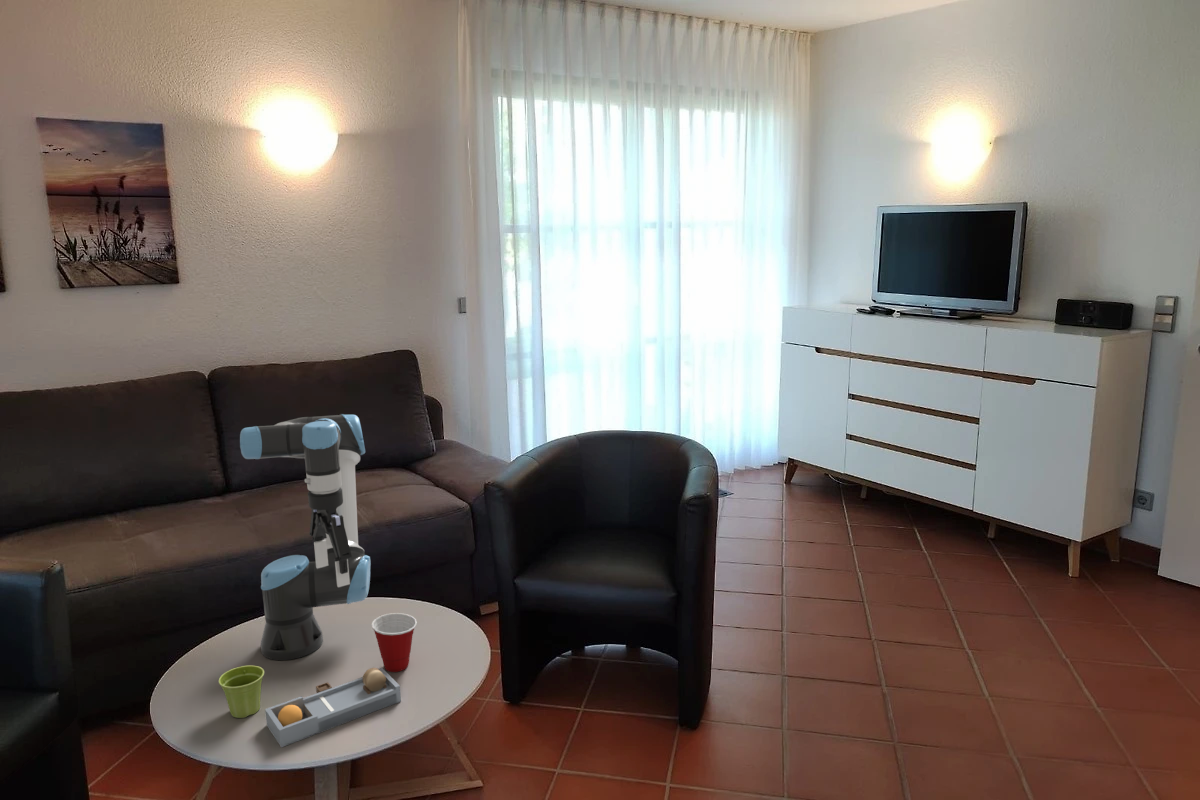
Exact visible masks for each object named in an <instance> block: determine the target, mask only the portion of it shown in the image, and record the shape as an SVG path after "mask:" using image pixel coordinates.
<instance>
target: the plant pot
mask: <svg viewBox="0 0 1200 800" xmlns="http://www.w3.org/2000/svg"><path fill="white" fill-rule="evenodd" d="M264 675H265V669H264V668H262V667H261V666H257V665H242V666H238V667H235V668H231V669H229V670H227V671H225V672H223V674H221V675H220V677H219V678H218V685H219V686H220V687H221V688H222V690H223V692H224V695H225V698H226V702H227V705H228V709H229V712H230V715H231V716H232V717H234V718H238V719H242V718H247V717H249V716H251V715H255V714H257V712H258V711H259V710H260V708H261V693H262V692H261V689H262V682H263V678H264Z"/></svg>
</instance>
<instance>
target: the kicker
mask: <svg viewBox="0 0 1200 800" xmlns="http://www.w3.org/2000/svg"><path fill="white" fill-rule="evenodd" d="M379 669H380V668H377V667H372V668H368V669H367V670H366V671H365V672H364V673H363V676H362V677H363V678H362V681H363V683H364V685H363V689H364V690H365V691H366V692H367V694H371V691H372V692H376V691H379V690H380V689H382V688H387V687H386V684H385V683H386V677H385V675H384V674H383V673H382V672H381V671H380V670H379Z"/></svg>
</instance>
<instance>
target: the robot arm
mask: <svg viewBox="0 0 1200 800" xmlns="http://www.w3.org/2000/svg"><path fill="white" fill-rule="evenodd" d="M239 448H240V453H241V456H242V457H243V458H244V459H245V460H254V459H255V460H260V459H261V460H262V459H270V458H272V459H273V458H292V459H293V458H295V459H304V462H305V463H304V464H305V473H306V476H305V477H306V478H304V483H306V485H307V487H306V488H307V490H308V492H307V498H308V499H307V500H308V507H309V508H310V509H311V513H310V514H311V515H310V525H309V533H308V534H309V536H310V537H312V541H313V545H314V546H313V547H314V558H315V561H310V560H309V558H308V557H307V556H306V555H302V554H301V555H300V554H292V555H287V556H284V557H281V558H278V559H276V560H273V561H272V562H270V563H268V564H267V565H266V566H265V567H264V568H263V569H262V571H261V573H260V580H261V581H260V583H261V585H260V589H261V593H262V601H263V602H262V603H263V610H264V611H263V612H264V618H265V622H264V623H265V624H264V628H263V632H262V636H261V640H260V652H261V655H262V656H264V657H265V658H266V659H269V660H274V661H287V660H288V661H289V660H290V661H291V660H295V659H298V658H302V657H306V656H308V655H310V654H312V653H314V652H316V651H317V650H318V649H320V647H321V646H322V645H323V642H324V639H323V638H324V637H323V636H324V635H323V631H322V629H321V626H320V625H319V622H318V621H317V619H316V617H315V614H314V608H319V607H330V606H337V605H344V604H345V605H346V604H347V605H349V604H350V605H351V604H353V603H357V602H359V603H360V602H363V601H365V600H366V599H367V597H368V594H369V590H370V584H371V582H370V581H371V565H372V564H371V556H369V555H367V554H366V553H365V549H364V548H363V547H362V546H360V545H359V532H358V509H357V485H356V484H357V483H356V482H357V481H356V465H358V463H360V462H361V456H363V455H365V453H366V448H365V442H364V437H363V431H362V425H361V421H360V418H359V417H358V415H356V414H344V413H340V414H339V415H338V414H336V415H335V414H334V415H333V414H332V415H322V416H304V417H297V418H294V419H289V420H285V421H281V422H278V423H276V424H274V425H259V426H257V425H255V426H249V427H244V428H242V429H241V431H240V434H239Z"/></svg>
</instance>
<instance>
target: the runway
mask: <svg viewBox="0 0 1200 800" xmlns="http://www.w3.org/2000/svg"><path fill="white" fill-rule="evenodd" d="M378 669H379V670H380V671H381V672H382V673H383V674H384V675H385V677H386V683H385V684H386V687H387V688H382V689H380V690H379V691H376V692H372V691H371V694H367V692H366V691H365V690H364V689H363V685H364V683H363V681H362V678H363V676H362V677H359V678H356V679H352V680H350V681H348V682H344V683H342V684H339V685H335V686H334V687H332V688H330V689H327V690H325V691H322V692H319V693H313V694H311V695H308V696H305V697H303V696H298V697H295V698H292V699H290V700H288V701H283V702H282V703H277V704H275V705H273V706H269V707H267V708H265V709H264V713H265V720H266V726H267V728H268V729H269V731H270V733H271V734H272V735H273V737H274V739H275V741H276V742H277V743H278V744H279V746H280V748H283V747H286V746H289V745H292V744H294V743H297V742H299V741H302V740H305V739H307V738H310V737H313V736H314V735H317V734H321V733H322V732H325V731H328V730H331V729H333V728H336V727H338V726H341V725H343V724H346V723H349V722H352V721H353V720H357V719H359V718H361V717H364V716H367V715H369V714H372V713H374V712H377V711H379V710H382V709H384V708H388V707H390V706H393V705H395V704H397V703H401V702H402V698H401V697H402V696H401V685H400V684H399V683H398V682H397V681H396V680H395V679H394V678H393V677H392V676H391V675H390V674H389V673H388V671H387V670H386V669H385V668H383V667H380V668H378ZM287 705H296V706H298V707H299V708H300V709H301V711H302V720H300V721H298V722H295V723H292V724H290V725H287V726H284V727H283V726H282V725H281V723H280V722H279V720H278V714H279V712H280V711H281V709H282V708H284V707H285V706H287Z"/></svg>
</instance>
